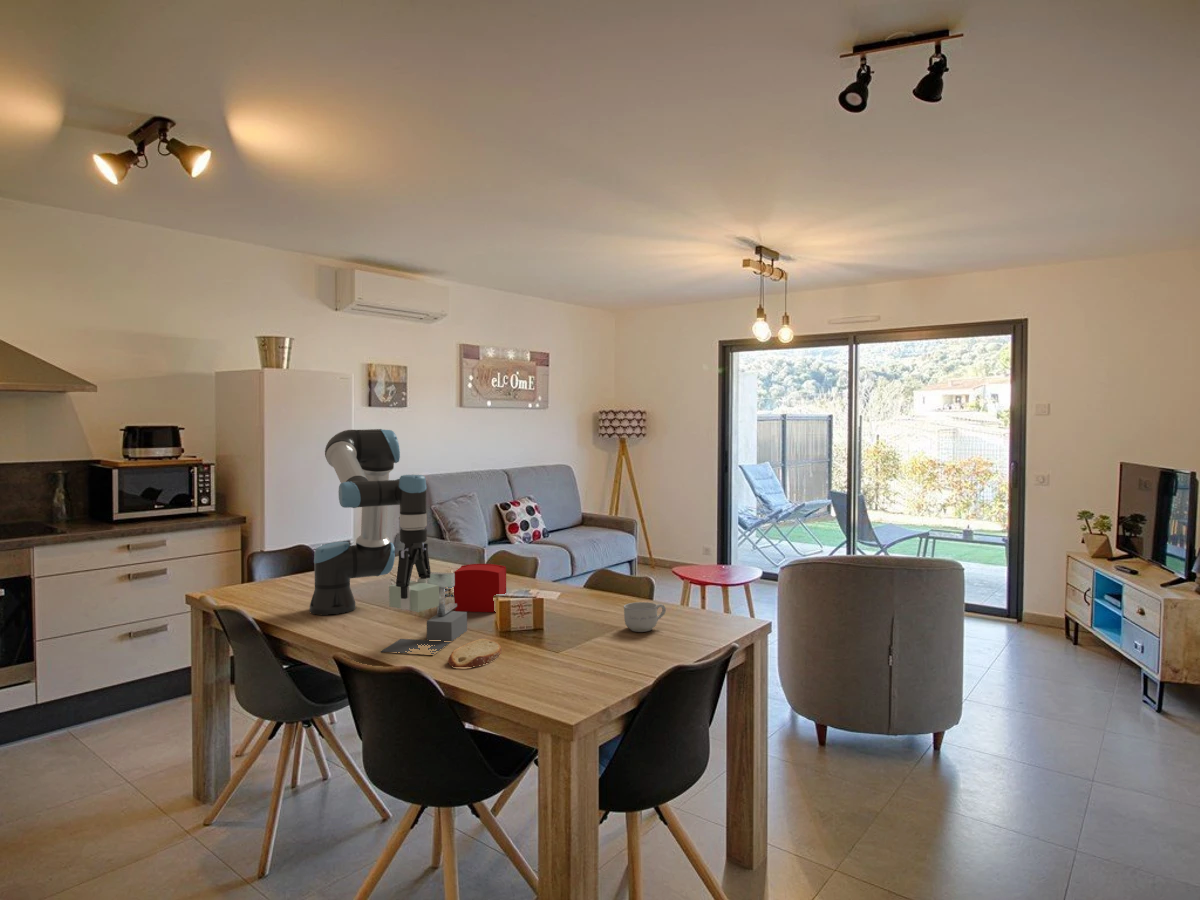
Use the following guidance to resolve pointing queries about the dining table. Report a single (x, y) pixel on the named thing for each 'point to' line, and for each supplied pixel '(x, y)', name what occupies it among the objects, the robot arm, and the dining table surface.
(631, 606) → the teacup
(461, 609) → the maroon rounded cube
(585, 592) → the dining table surface
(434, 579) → the t key
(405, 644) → the mat
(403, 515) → the robot arm
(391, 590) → the pale green block
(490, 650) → the bread slice
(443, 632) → the block
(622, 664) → the dining table surface
